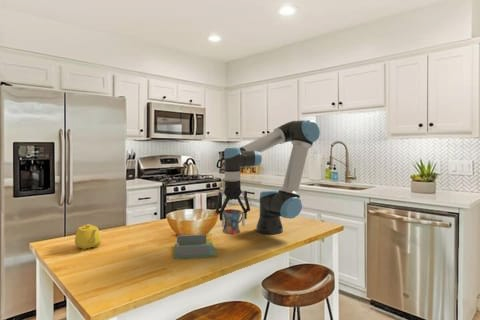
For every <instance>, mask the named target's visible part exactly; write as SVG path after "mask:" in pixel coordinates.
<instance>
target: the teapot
mask: <svg viewBox="0 0 480 320" xmlns="http://www.w3.org/2000/svg"><path fill="white" fill-rule="evenodd" d="M101 243H102V235H101V232H100V230H99V228H98V226H96V225H92V224H90V223H87V224H85V225H82V226H80V227H78V228H77V230H76V233H75V238H74V244H75V245H76V247H77V248H78V249H79V248H80V249H81V251H86V250H87V249H89V248H94V249H98V248H99V246H100V245H101Z"/></svg>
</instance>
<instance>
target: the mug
mask: <svg viewBox="0 0 480 320" xmlns="http://www.w3.org/2000/svg"><path fill="white" fill-rule="evenodd" d="M242 212H243V211H242V210H239V209H232V208H231V209H230V208H229V209H224V211H223V214H224V228H222V233H224V234H226V235H232V236H233V235H238V234H239V233H240V232H241V230H240V227H239V224H240V223H242ZM240 217H241V218H240Z"/></svg>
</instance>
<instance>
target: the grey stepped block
mask: <svg viewBox="0 0 480 320" xmlns="http://www.w3.org/2000/svg"><path fill="white" fill-rule="evenodd" d="M216 252H217V251H216V249H215V247H214V244H213V241H207V234H205V233H204V234H187V235H186V234H185V235H183V234H182V235H177V236H176V243H175V244H174V260H179V259H182V260H183V259H195V258H196V259H197V258H198V259H199V258H201V259H202V258H214V257H217V253H216Z"/></svg>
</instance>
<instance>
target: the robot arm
mask: <svg viewBox="0 0 480 320" xmlns="http://www.w3.org/2000/svg"><path fill="white" fill-rule="evenodd" d="M320 135H321V132H320V127H319V125H318V123H317V122H315V121H314V120H312V119H304V120H292V121H289V122H286V123H284V124H282V125H279V126H278V127H276V128H274V129H273V131H272V132H269V133H267V134H266V135H264V136H263V135H262V136H261V137H259V138H257V139H255V140H253V141H251V142H249V143H247V144H245V145H243V146H241V147H226V148H225V149H224V153H223V155H224V156H223V158H224V180H225V181H224V190H223V191H218V193H217V194H218V197H217V202H216V203H217V204H216V207H215V212H216V214H218V215H219V220H220V222H221V227H222V229H223V228H224V224H225V220H224V214H223V211H224V210H226V209H225V208H226V207H227V206H228V205H227V204H229V201H232V200H235V201H236V200H237V202H238V204H239V205H240V208H241V209H242V211H241V212H242V214H241V217H242V220H241V225H242V227H245V222H246V221H245V220H247V219H248V217H247V215H248V214H247V213H248V212H250V211H251V207H250V204H249V199H248V191H246V190H241V189H242V188H241V168H243V167H245V168H246V167H248V168H249V167H257V166H258V167H259V166H260V165H261V164H262V161H263V159H262V158H263V156H262V153H263V152H265V151H267V150H269V149H272V148H274V147H275V146H277V145H279V144H280V145H283V144H285V143H289V142H291V144H292V148H291V152H290V156H289V159H288V164H287V168H286V172H285V176H284V180H283V184H282V187H281V188H280V189H277V190H275V189H274V190H263V191H261V192H260V193H259V218H258V221H257V222H256V223H257V224H256V227H255V231H256V232H257V233H260V234H265V235H275V234H276V235H277V234H281V233H283V231H284V229H283V228H284V226H283V223H282V220H281V217H282V218H283V219H284V218H285V219H289V220H290V219H295V218H297V216H299V215H300V213H301V212H302V208H303V203H302V201H301V199H300V196H301V194H300V192H299V190H300V186H301V181H302V176H303V173H304V168H305V165H306V160H307V156H308V153H309V149H311V148H312V147H313V144H314V142H317V140H318V139H319V138H320ZM241 194H242V196H243V198H244V199H243V200H244V203H245V205H244V203H243V202H242V200H241V198H240V196H241ZM224 195H225V199H224V201H223V204H222V205H221V203H222V199H223V196H224Z"/></svg>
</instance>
